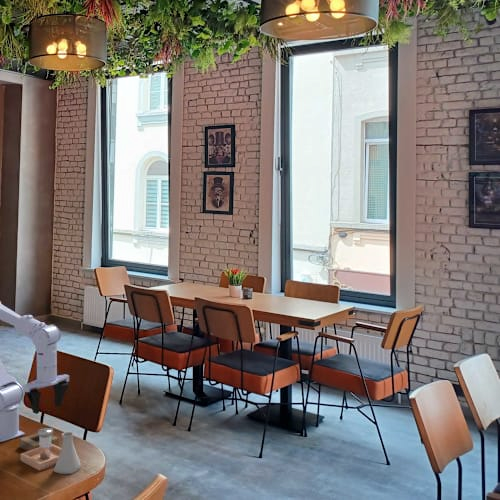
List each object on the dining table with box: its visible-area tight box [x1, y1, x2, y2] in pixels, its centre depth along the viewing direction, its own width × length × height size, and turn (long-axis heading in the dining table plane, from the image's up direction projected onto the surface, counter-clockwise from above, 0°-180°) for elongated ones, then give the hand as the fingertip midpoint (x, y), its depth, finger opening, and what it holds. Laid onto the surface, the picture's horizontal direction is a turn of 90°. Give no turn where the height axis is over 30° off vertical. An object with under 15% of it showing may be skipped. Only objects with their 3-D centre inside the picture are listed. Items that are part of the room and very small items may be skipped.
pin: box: [37, 427, 54, 460], centre depth 162 cm, size 4×4×8 cm
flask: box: [53, 431, 82, 475], centre depth 157 cm, size 7×7×10 cm
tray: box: [20, 444, 62, 472], centre depth 162 cm, size 10×10×2 cm
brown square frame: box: [19, 432, 60, 452], centre depth 171 cm, size 8×8×2 cm
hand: (47, 409), depth 173 cm, fingers open, 7 cm apart
